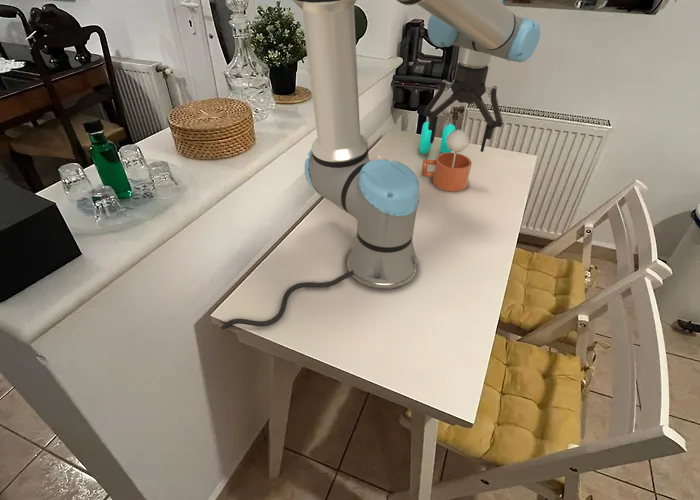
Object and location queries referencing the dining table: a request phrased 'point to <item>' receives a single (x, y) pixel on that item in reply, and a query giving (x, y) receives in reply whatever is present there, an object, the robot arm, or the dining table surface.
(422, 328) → the dining table surface
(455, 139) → the lollipop
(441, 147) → the donuts
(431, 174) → the mug
